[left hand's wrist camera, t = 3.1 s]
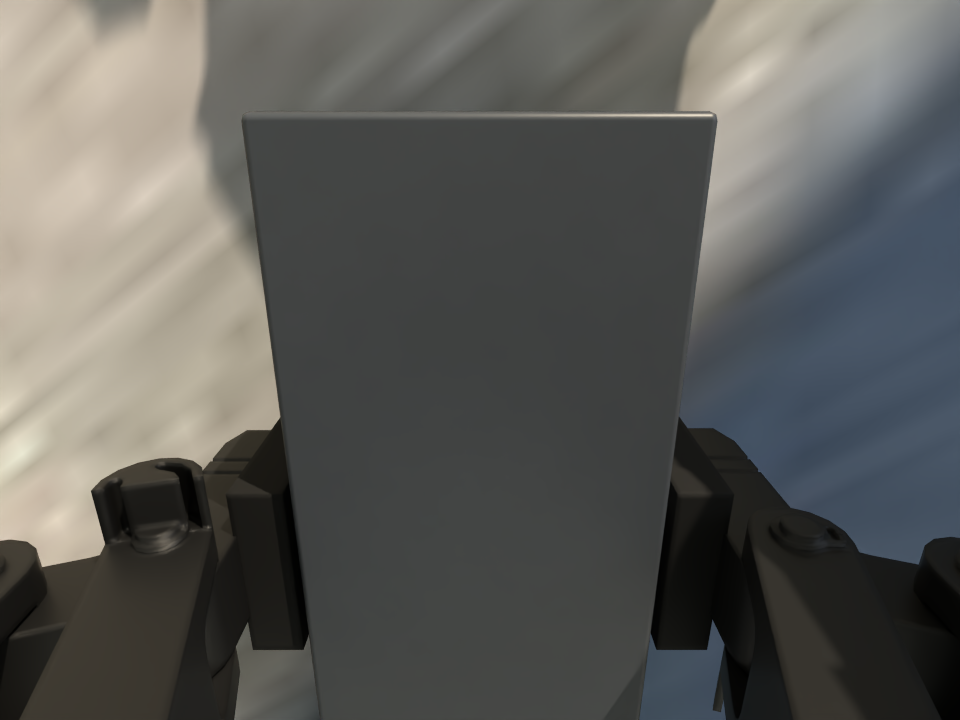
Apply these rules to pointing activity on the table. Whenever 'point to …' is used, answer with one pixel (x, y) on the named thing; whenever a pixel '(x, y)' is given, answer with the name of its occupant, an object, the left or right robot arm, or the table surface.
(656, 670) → the table surface
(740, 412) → the table surface
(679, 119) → the beam
